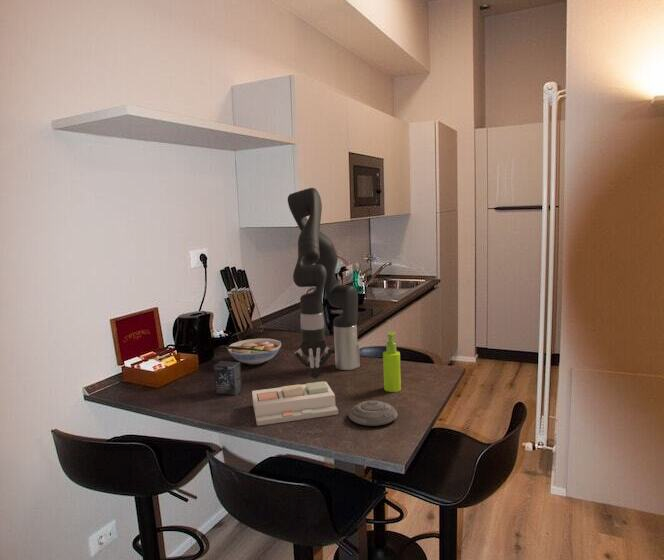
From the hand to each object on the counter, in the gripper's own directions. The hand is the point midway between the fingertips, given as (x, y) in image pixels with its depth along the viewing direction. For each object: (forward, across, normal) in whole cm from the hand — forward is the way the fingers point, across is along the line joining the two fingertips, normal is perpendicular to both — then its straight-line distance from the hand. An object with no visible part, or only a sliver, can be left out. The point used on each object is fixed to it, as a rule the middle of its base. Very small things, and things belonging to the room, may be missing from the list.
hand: (314, 378), depth 163 cm
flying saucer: (+10, -15, +16) cm, 24 cm away
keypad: (+9, +7, +2) cm, 12 cm away
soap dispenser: (+9, -28, -5) cm, 30 cm away
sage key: (+6, 0, 0) cm, 6 cm away
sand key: (+6, +8, 0) cm, 9 cm away
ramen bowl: (+9, +16, -54) cm, 57 cm away
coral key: (+7, +16, 0) cm, 17 cm away
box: (+9, +28, -22) cm, 36 cm away
